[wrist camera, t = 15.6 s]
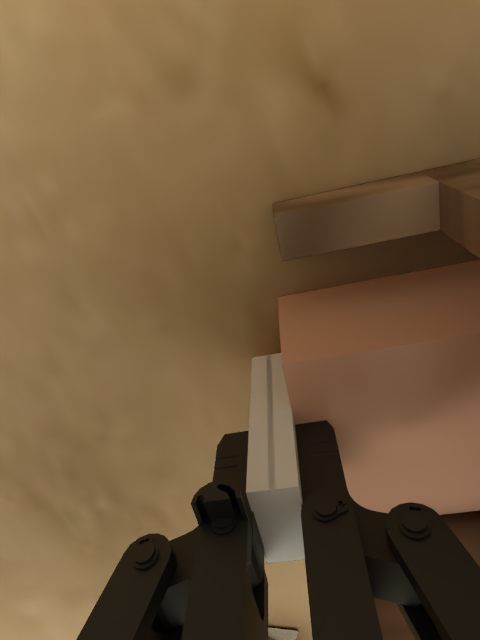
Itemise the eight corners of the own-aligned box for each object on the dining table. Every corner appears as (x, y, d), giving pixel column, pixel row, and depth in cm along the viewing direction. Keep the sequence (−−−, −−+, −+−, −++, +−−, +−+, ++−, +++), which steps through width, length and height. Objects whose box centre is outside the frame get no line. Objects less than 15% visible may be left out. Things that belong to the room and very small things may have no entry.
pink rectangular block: (305, 433, 20) (317, 528, 16) (277, 296, 17) (281, 365, 13) (614, 390, 18) (727, 483, 14) (642, 229, 15) (797, 280, 11)
